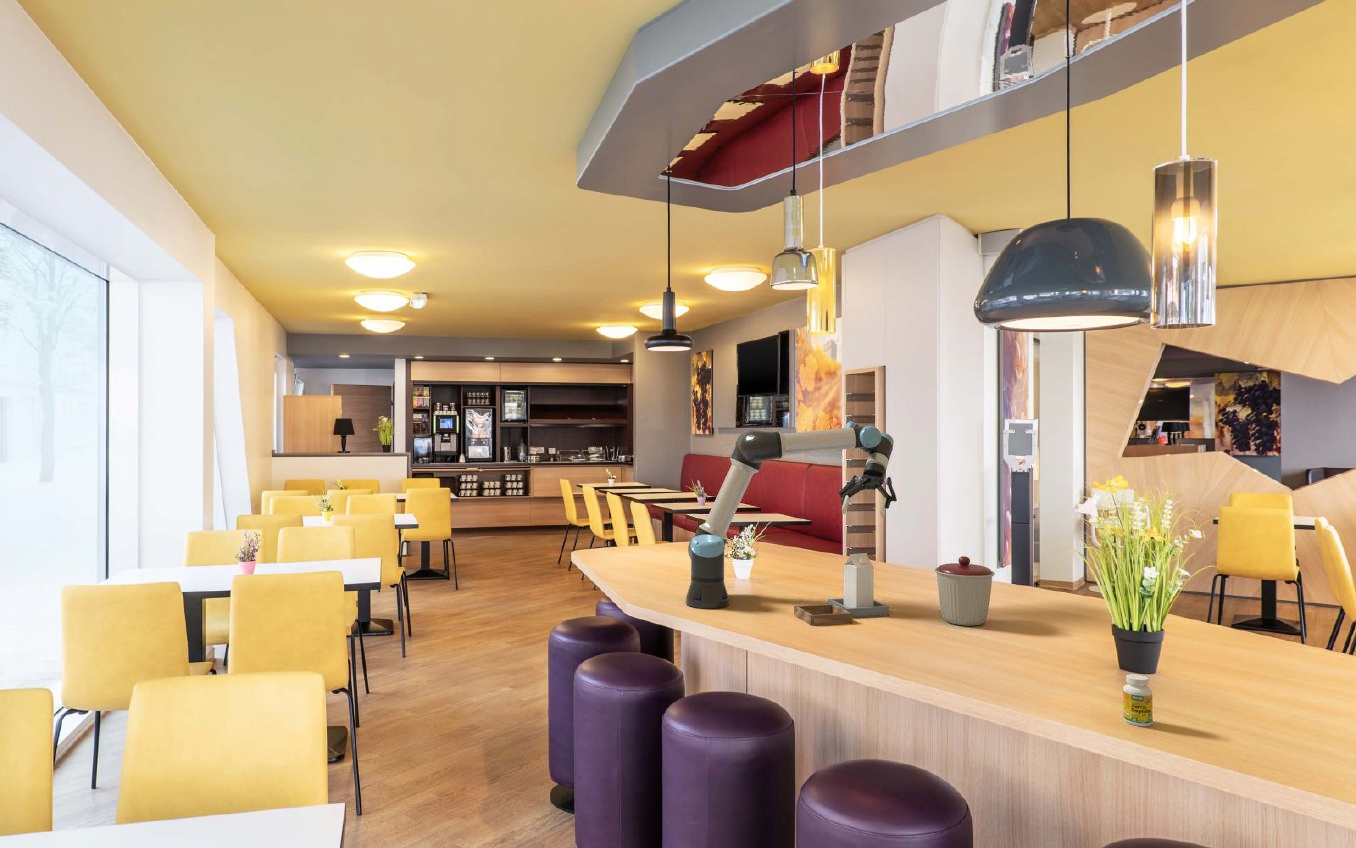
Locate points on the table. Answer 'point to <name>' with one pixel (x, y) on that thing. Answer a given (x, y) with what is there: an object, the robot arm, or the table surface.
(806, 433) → the robot arm
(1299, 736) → the table surface
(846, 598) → the milk carton
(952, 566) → the canister
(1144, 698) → the supplement bottle
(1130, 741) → the table surface
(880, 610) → the tray
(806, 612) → the holder frame
